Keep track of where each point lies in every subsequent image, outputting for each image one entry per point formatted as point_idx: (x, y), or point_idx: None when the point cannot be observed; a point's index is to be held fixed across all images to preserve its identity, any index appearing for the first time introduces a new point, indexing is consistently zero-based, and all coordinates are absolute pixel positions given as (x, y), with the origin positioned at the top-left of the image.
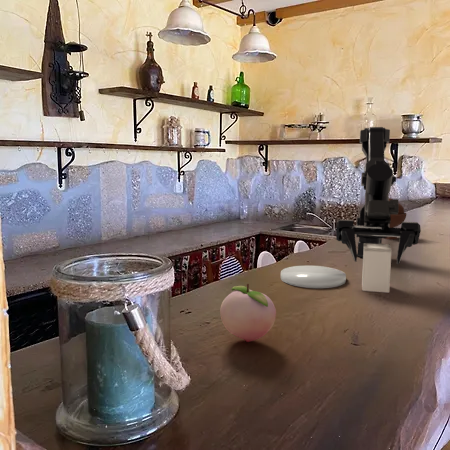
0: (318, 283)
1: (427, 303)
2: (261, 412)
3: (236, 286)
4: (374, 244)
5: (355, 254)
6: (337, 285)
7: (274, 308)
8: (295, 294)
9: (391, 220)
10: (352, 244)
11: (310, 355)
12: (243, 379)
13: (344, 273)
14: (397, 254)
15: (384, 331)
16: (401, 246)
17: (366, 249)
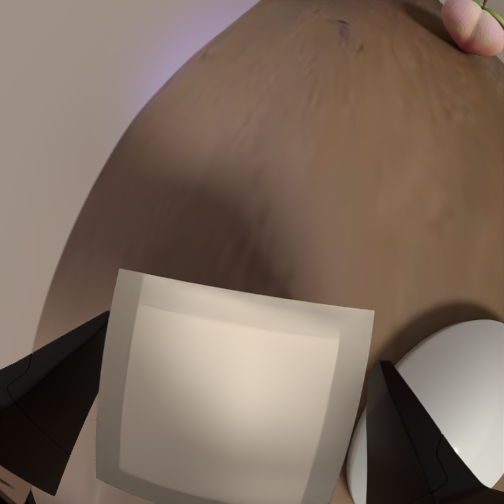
0: (464, 322)
1: (124, 199)
2: None
3: (501, 17)
4: (229, 488)
5: (395, 382)
6: (397, 365)
7: (448, 3)
8: (496, 246)
9: None
10: (439, 443)
11: (388, 15)
12: (424, 7)
13: (355, 477)
14: (86, 379)
15: (293, 43)
16: (31, 366)
17: (348, 310)
